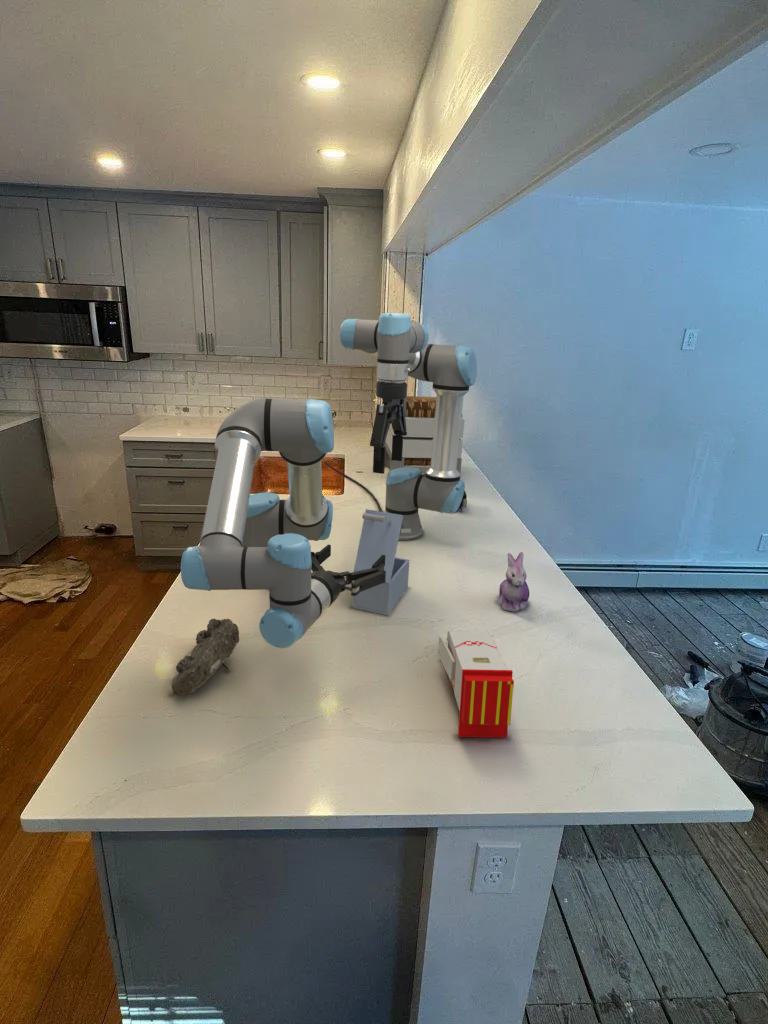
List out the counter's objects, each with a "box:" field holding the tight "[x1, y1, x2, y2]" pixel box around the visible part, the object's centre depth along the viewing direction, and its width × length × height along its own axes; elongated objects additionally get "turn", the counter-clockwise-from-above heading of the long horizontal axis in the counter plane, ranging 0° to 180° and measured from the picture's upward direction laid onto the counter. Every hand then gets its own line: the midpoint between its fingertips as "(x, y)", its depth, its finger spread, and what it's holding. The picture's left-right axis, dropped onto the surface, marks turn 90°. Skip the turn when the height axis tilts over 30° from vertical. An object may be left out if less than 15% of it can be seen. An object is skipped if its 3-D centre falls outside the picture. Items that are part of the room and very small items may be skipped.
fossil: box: [171, 618, 240, 696], centre depth 121 cm, size 22×10×15 cm
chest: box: [352, 556, 410, 616], centre depth 154 cm, size 17×10×9 cm, turn 160°
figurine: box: [497, 551, 530, 612], centre depth 152 cm, size 9×10×15 cm
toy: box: [437, 628, 515, 738], centre depth 117 cm, size 12×13×30 cm
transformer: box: [384, 395, 465, 475], centre depth 268 cm, size 34×33×41 cm
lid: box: [353, 508, 403, 583], centre depth 142 cm, size 18×10×9 cm
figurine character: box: [457, 490, 468, 512], centre depth 228 cm, size 7×8×15 cm
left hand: (356, 554), depth 132 cm, fingers open, 13 cm apart
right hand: (387, 466), depth 143 cm, fingers open, 13 cm apart
